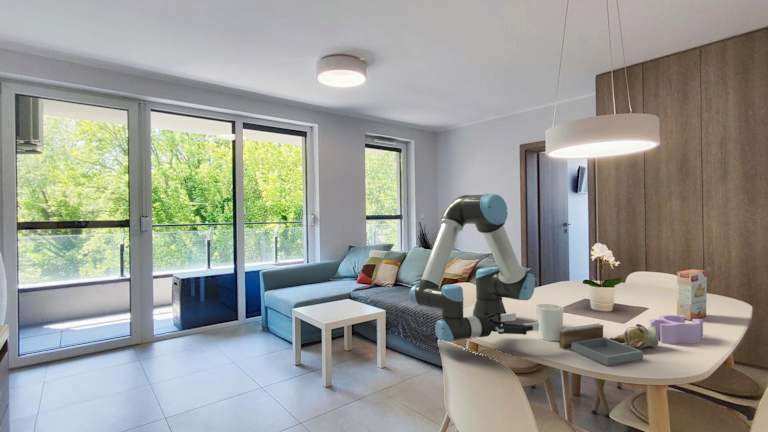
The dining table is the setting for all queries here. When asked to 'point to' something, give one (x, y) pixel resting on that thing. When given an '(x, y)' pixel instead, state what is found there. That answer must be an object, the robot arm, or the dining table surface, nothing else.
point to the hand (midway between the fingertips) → (526, 320)
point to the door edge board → (579, 334)
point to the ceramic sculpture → (639, 337)
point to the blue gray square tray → (607, 351)
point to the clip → (677, 329)
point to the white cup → (549, 321)
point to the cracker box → (691, 293)
